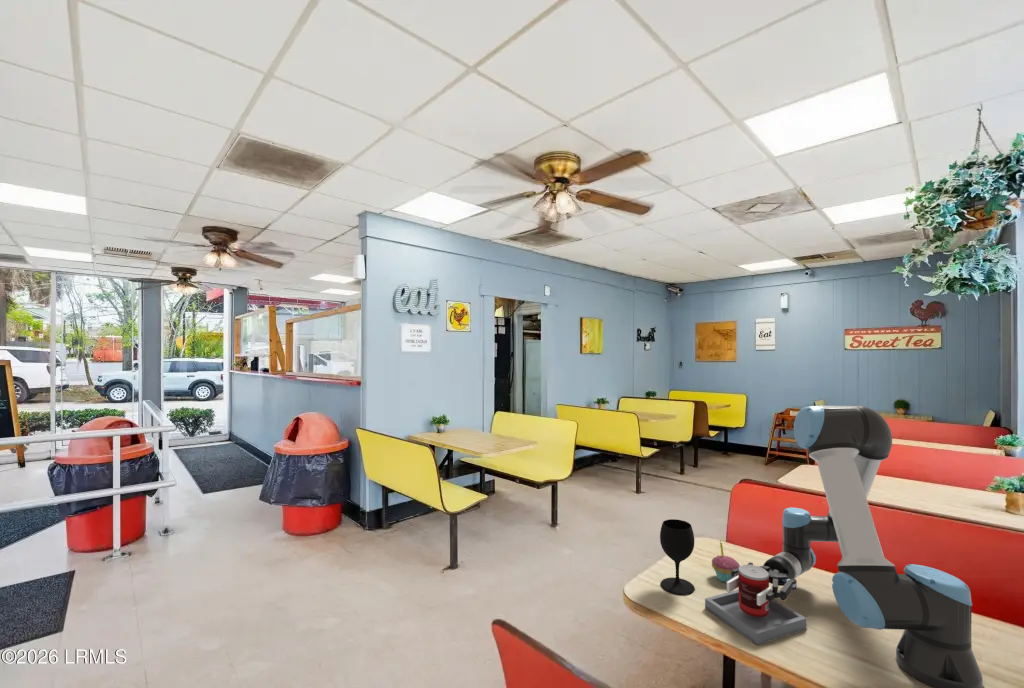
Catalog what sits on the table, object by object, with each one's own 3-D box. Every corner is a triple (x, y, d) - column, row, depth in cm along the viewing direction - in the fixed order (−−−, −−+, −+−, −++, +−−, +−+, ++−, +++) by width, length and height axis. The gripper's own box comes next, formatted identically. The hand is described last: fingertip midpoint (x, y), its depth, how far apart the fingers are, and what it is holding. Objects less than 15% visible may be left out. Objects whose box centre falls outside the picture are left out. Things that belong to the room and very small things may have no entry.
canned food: (761, 602, 137) (761, 564, 137) (774, 618, 129) (774, 578, 129) (734, 601, 138) (734, 563, 138) (745, 617, 130) (744, 577, 130)
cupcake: (705, 575, 158) (705, 540, 158) (724, 570, 161) (723, 535, 161) (727, 587, 150) (727, 550, 150) (746, 581, 153) (745, 545, 153)
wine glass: (697, 583, 153) (696, 521, 153) (691, 598, 144) (691, 533, 144) (664, 575, 158) (663, 516, 158) (657, 590, 149) (656, 526, 149)
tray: (806, 629, 128) (806, 618, 128) (756, 645, 122) (756, 633, 122) (751, 596, 145) (751, 586, 145) (705, 608, 138) (705, 598, 138)
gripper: (819, 595, 135) (782, 625, 122) (748, 568, 152) (708, 591, 138) (819, 569, 135) (782, 596, 121) (748, 544, 152) (707, 565, 138)
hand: (742, 593), depth 130 cm, fingers closed on canned food, 8 cm apart
